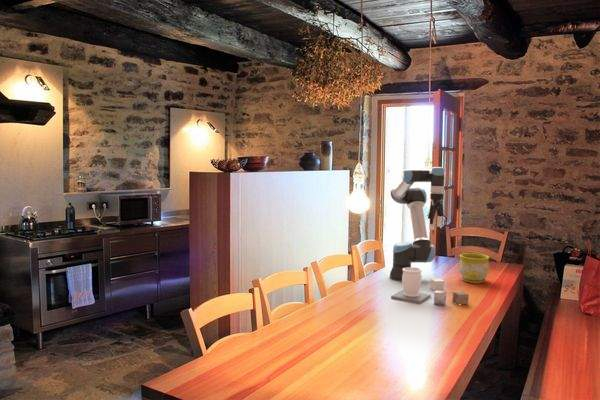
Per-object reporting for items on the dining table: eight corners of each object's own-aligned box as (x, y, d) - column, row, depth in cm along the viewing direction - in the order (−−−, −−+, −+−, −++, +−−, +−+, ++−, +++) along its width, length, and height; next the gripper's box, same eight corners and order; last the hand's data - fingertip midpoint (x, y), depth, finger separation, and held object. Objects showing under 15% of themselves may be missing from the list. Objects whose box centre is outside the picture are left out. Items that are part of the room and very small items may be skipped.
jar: (419, 293, 290) (420, 267, 288) (422, 298, 280) (422, 271, 278) (400, 292, 291) (401, 266, 289) (402, 297, 281) (403, 271, 279)
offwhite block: (430, 288, 306) (430, 278, 305) (439, 288, 307) (439, 278, 306) (434, 291, 300) (435, 281, 299) (444, 290, 301) (444, 280, 300)
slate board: (402, 292, 297) (402, 289, 297) (430, 297, 287) (430, 294, 287) (391, 298, 284) (391, 295, 284) (420, 303, 274) (420, 301, 274)
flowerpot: (492, 284, 316) (493, 259, 314) (463, 284, 316) (464, 258, 314) (482, 277, 333) (483, 253, 332) (455, 277, 334) (456, 252, 332)
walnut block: (452, 302, 278) (452, 291, 278) (462, 301, 279) (462, 291, 279) (457, 305, 272) (458, 294, 272) (468, 304, 274) (468, 294, 273)
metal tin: (436, 302, 278) (436, 289, 277) (447, 304, 275) (447, 291, 274) (432, 304, 273) (432, 292, 272) (443, 306, 270) (443, 294, 269)
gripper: (435, 194, 289) (434, 231, 291) (449, 192, 309) (448, 226, 311) (423, 193, 293) (422, 230, 295) (437, 191, 313) (436, 225, 316)
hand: (435, 228), depth 303 cm, fingers open, 13 cm apart
